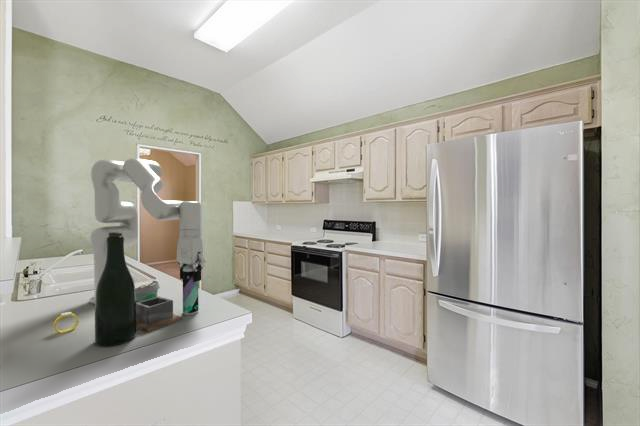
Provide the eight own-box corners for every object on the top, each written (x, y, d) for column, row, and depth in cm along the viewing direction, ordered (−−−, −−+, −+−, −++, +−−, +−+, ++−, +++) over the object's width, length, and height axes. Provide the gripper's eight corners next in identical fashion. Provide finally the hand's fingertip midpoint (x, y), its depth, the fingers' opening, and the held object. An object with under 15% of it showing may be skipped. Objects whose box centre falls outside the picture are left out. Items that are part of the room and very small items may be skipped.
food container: (142, 316, 104) (142, 289, 104) (128, 315, 106) (128, 288, 105) (166, 305, 117) (166, 281, 116) (153, 304, 118) (153, 280, 118)
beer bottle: (90, 340, 86) (89, 232, 86) (130, 328, 95) (129, 229, 94) (100, 351, 80) (98, 234, 79) (141, 338, 88) (141, 232, 87)
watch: (76, 328, 95) (77, 310, 96) (78, 330, 94) (79, 312, 94) (52, 332, 91) (53, 314, 91) (53, 335, 89) (55, 316, 89)
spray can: (180, 312, 109) (180, 260, 109) (194, 308, 113) (194, 258, 113) (186, 316, 105) (186, 262, 105) (200, 312, 109) (200, 260, 109)
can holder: (125, 323, 99) (125, 303, 99) (159, 312, 109) (159, 294, 109) (148, 332, 92) (147, 311, 92) (182, 319, 102) (182, 300, 102)
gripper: (167, 233, 109) (167, 278, 110) (196, 235, 101) (196, 285, 101) (185, 231, 116) (185, 274, 116) (214, 234, 107) (214, 280, 108)
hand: (190, 279), depth 109 cm, fingers open, 7 cm apart
